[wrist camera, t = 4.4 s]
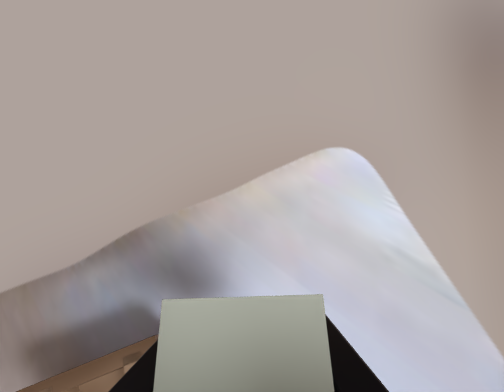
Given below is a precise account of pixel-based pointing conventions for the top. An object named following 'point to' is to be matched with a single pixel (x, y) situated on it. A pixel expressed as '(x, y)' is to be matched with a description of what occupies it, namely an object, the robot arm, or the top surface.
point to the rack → (95, 371)
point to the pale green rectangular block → (243, 345)
